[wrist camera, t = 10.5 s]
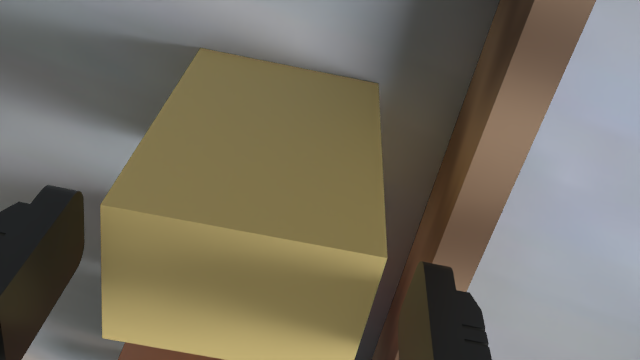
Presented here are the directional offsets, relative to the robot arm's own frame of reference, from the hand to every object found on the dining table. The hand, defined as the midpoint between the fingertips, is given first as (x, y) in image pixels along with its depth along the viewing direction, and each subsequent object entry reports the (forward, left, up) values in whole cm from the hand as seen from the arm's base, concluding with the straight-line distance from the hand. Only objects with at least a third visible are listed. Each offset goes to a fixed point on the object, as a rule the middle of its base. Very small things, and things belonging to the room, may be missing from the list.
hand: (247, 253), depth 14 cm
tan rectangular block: (0, 0, -8) cm, 8 cm away
